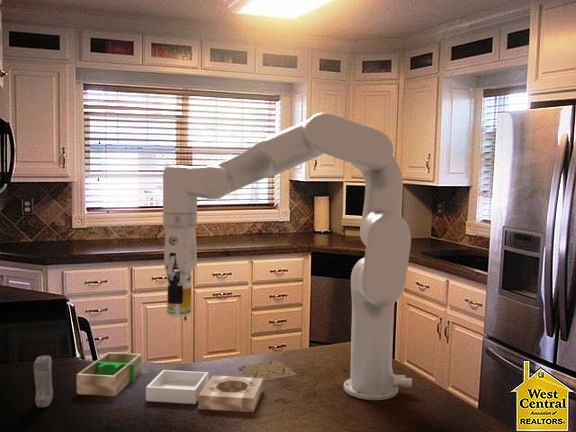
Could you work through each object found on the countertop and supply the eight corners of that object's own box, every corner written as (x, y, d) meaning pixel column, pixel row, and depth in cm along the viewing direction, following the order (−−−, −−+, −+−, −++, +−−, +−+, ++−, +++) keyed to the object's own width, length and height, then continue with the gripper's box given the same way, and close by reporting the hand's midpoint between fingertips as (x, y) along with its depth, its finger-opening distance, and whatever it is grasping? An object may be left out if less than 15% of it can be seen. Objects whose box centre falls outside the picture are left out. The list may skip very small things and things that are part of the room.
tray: (208, 385, 133) (208, 372, 133) (195, 403, 122) (195, 390, 122) (163, 382, 134) (163, 369, 134) (145, 400, 123) (145, 387, 123)
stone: (54, 397, 124) (54, 353, 124) (49, 407, 119) (49, 361, 118) (37, 399, 124) (37, 354, 123) (32, 408, 118) (31, 362, 118)
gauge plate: (262, 390, 130) (262, 378, 130) (253, 412, 118) (253, 398, 118) (212, 387, 131) (212, 375, 131) (198, 408, 119) (198, 395, 119)
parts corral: (141, 371, 142) (141, 354, 141) (114, 396, 126) (114, 376, 125) (108, 369, 143) (107, 352, 142) (76, 393, 127) (76, 374, 126)
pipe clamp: (87, 383, 133) (86, 365, 133) (94, 378, 137) (94, 361, 136) (128, 385, 131) (128, 367, 131) (135, 380, 135) (134, 362, 135)
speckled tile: (255, 384, 135) (255, 380, 135) (236, 369, 146) (236, 365, 145) (298, 377, 140) (298, 373, 140) (277, 362, 151) (277, 359, 151)
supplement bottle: (192, 311, 129) (193, 270, 129) (189, 317, 124) (189, 274, 123) (169, 311, 129) (169, 270, 129) (165, 317, 124) (165, 274, 123)
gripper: (184, 224, 116) (184, 310, 118) (206, 218, 133) (205, 293, 135) (150, 223, 117) (150, 308, 118) (175, 217, 134) (175, 292, 135)
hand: (179, 299), depth 126 cm, fingers closed on supplement bottle, 5 cm apart
